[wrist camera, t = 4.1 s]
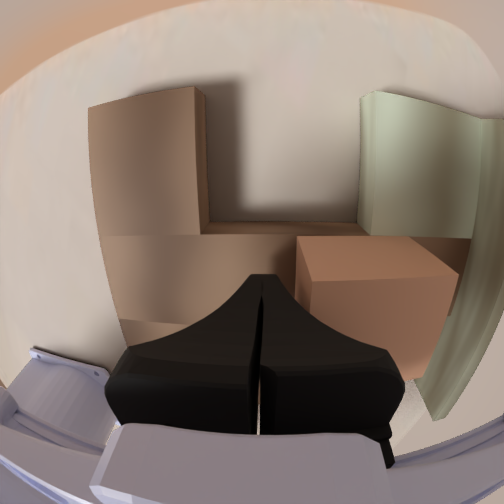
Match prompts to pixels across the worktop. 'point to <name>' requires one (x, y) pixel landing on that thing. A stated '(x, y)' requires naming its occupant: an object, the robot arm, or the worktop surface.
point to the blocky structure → (285, 232)
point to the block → (377, 293)
